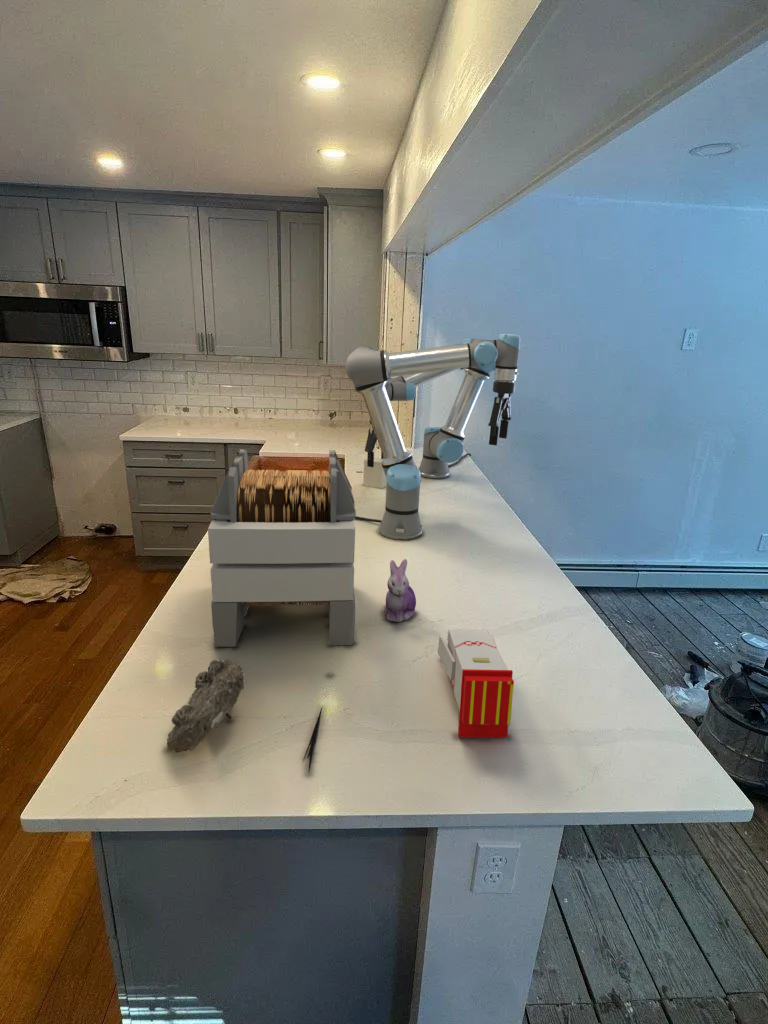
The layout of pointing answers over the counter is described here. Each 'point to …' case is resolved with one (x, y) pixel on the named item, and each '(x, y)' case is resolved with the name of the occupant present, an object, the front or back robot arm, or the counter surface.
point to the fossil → (206, 705)
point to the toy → (478, 682)
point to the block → (374, 474)
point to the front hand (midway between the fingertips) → (497, 441)
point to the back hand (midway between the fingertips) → (377, 463)
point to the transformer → (282, 546)
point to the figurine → (399, 594)
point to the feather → (313, 740)
